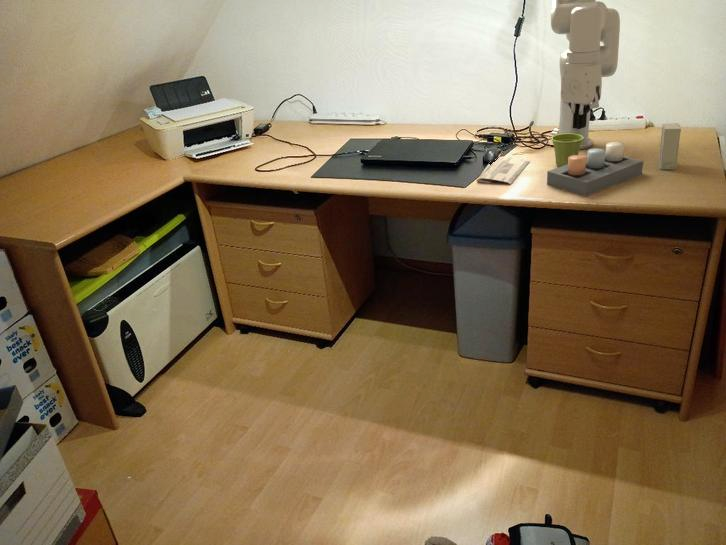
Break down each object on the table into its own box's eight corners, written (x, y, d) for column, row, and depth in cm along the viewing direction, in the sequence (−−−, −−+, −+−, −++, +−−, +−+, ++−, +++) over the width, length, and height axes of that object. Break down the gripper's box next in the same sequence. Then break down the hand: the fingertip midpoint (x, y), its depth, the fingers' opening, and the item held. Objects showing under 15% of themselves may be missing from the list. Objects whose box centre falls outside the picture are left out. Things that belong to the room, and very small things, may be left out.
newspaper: (492, 161, 203) (493, 154, 202) (529, 167, 198) (530, 159, 197) (469, 184, 186) (470, 176, 185) (509, 191, 181) (510, 183, 180)
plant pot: (544, 164, 194) (545, 137, 190) (567, 157, 197) (569, 131, 193) (563, 171, 186) (565, 143, 182) (588, 164, 189) (590, 137, 185)
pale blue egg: (583, 165, 177) (584, 151, 175) (594, 161, 179) (595, 147, 177) (596, 169, 173) (597, 154, 171) (607, 165, 175) (609, 150, 173)
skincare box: (676, 169, 178) (682, 128, 172) (659, 169, 179) (664, 129, 174) (673, 163, 183) (679, 122, 177) (657, 163, 184) (662, 123, 179)
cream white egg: (601, 159, 180) (602, 144, 178) (612, 155, 182) (613, 141, 180) (615, 162, 176) (616, 148, 174) (626, 158, 179) (627, 144, 177)
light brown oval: (563, 172, 173) (564, 158, 171) (575, 168, 175) (576, 154, 173) (577, 176, 170) (578, 161, 168) (589, 172, 172) (590, 157, 170)
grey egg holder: (546, 184, 178) (547, 171, 176) (602, 164, 188) (603, 151, 187) (585, 196, 167) (586, 182, 165) (641, 174, 178) (643, 160, 176)
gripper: (551, 58, 162) (548, 126, 171) (598, 62, 151) (592, 135, 159) (570, 53, 165) (567, 120, 174) (618, 57, 154) (611, 129, 162)
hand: (579, 127), depth 166 cm, fingers closed
